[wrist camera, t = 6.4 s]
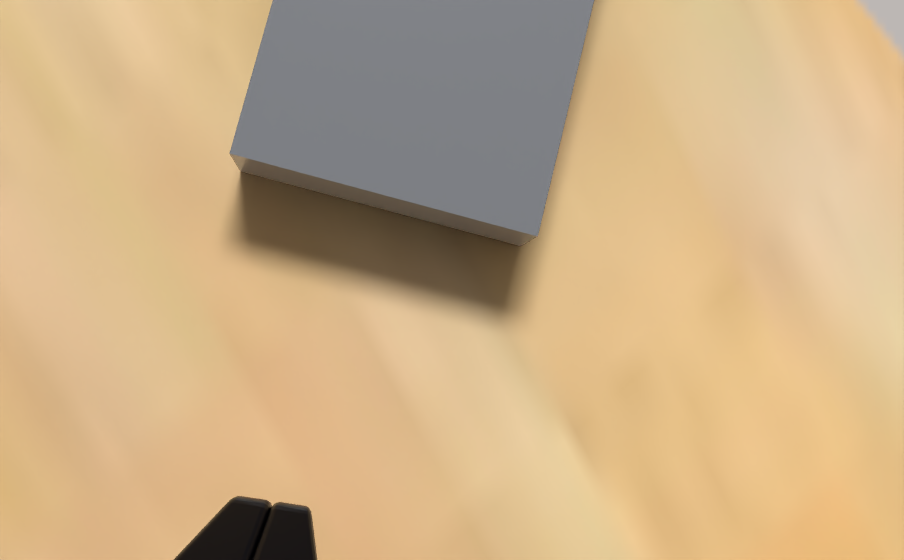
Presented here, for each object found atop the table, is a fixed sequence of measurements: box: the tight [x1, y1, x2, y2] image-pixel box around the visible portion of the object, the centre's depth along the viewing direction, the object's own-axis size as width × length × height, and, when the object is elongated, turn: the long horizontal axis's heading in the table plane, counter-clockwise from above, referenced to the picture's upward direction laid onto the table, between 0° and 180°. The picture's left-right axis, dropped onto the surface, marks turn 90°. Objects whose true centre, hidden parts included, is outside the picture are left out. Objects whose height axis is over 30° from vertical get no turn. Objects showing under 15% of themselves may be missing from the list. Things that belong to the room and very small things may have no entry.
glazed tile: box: [230, 0, 594, 246], centre depth 17 cm, size 2×6×8 cm
